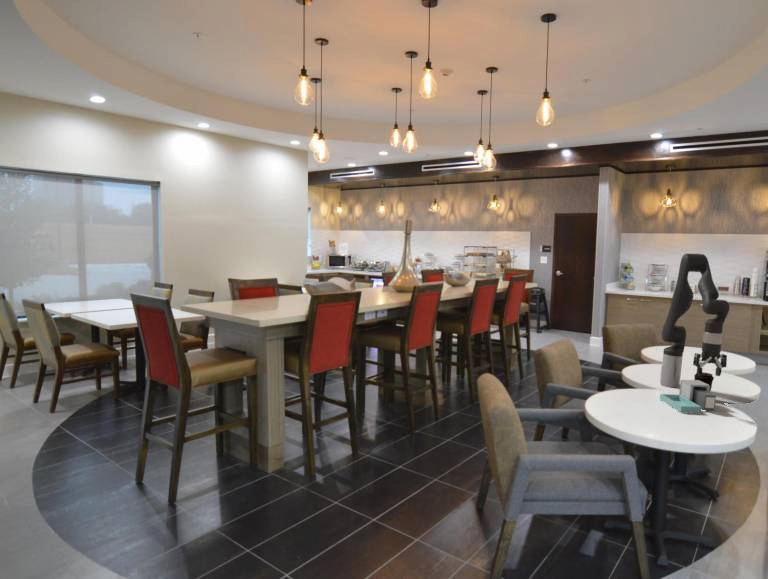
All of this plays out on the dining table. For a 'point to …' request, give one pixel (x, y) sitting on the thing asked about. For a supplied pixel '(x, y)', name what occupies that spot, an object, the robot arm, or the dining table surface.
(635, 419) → the dining table surface
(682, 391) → the light grey block
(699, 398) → the tall grey pillar
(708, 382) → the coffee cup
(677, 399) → the tray
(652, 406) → the dining table surface
